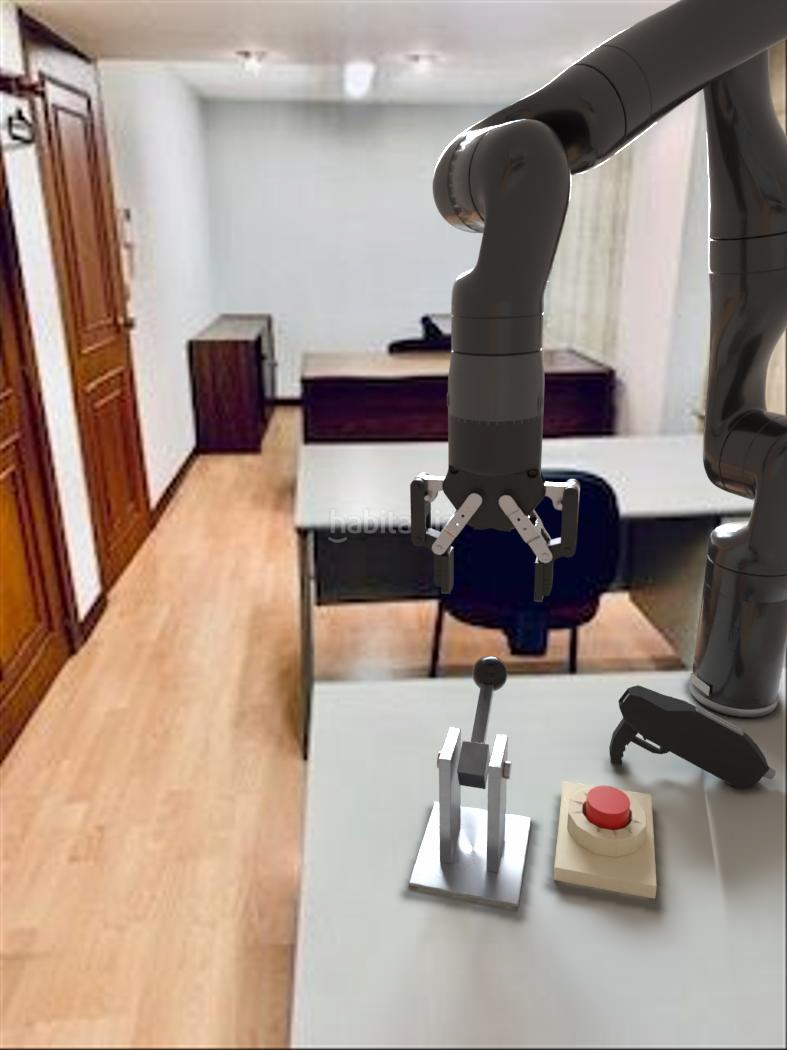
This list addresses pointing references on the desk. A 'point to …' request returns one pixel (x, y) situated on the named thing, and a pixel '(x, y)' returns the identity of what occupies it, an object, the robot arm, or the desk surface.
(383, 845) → the desk surface
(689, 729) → the gun
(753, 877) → the desk surface
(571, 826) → the button block
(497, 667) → the press lever
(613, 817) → the button
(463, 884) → the lever bracket
